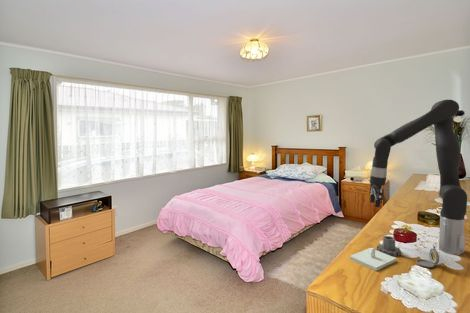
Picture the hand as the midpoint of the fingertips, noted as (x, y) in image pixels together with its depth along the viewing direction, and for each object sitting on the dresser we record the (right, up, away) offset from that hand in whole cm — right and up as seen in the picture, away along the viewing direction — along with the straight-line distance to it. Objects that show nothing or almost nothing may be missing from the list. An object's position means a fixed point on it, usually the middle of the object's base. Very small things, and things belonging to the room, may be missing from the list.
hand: (374, 204), depth 141 cm
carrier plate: (-11, -23, -18) cm, 31 cm away
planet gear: (+2, -22, -10) cm, 24 cm away
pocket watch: (+11, -23, -24) cm, 35 cm away
